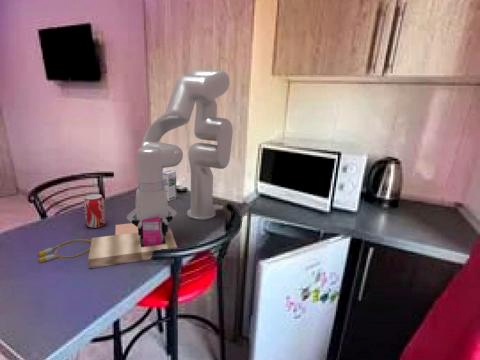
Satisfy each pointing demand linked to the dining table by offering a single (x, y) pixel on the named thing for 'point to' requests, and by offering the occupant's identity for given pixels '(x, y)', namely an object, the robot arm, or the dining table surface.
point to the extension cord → (50, 257)
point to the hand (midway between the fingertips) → (153, 235)
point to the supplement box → (152, 232)
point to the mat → (126, 229)
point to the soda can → (94, 210)
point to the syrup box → (170, 184)
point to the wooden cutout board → (124, 249)
